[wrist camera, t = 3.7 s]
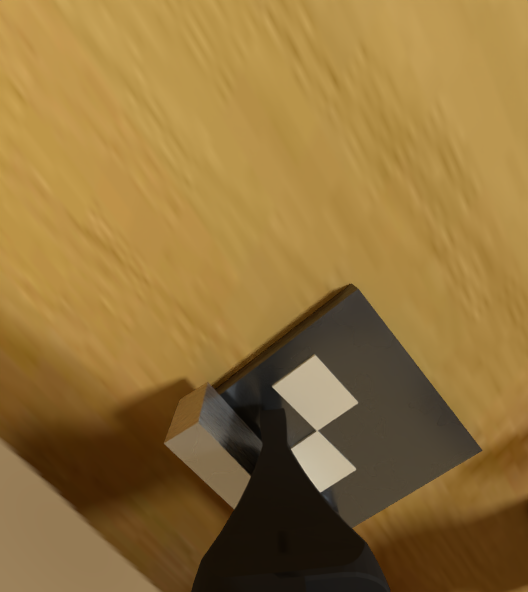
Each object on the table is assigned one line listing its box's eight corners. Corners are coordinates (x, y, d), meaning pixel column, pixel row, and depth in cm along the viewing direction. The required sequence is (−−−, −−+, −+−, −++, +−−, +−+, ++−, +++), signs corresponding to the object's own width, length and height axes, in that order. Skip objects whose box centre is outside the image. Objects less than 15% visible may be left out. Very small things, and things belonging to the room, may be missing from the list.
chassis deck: (471, 438, 16) (482, 450, 15) (316, 532, 18) (319, 547, 17) (351, 283, 12) (358, 288, 12) (176, 419, 14) (172, 431, 14)
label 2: (355, 468, 15) (356, 469, 15) (318, 491, 15) (318, 493, 15) (316, 429, 14) (316, 431, 14) (278, 456, 14) (278, 457, 14)
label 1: (357, 401, 14) (358, 402, 13) (316, 429, 14) (316, 431, 14) (314, 354, 13) (314, 355, 12) (271, 385, 13) (272, 386, 13)
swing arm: (348, 524, 16) (369, 594, 13) (312, 542, 16) (326, 614, 13) (215, 374, 12) (205, 425, 10) (173, 401, 13) (151, 458, 10)
